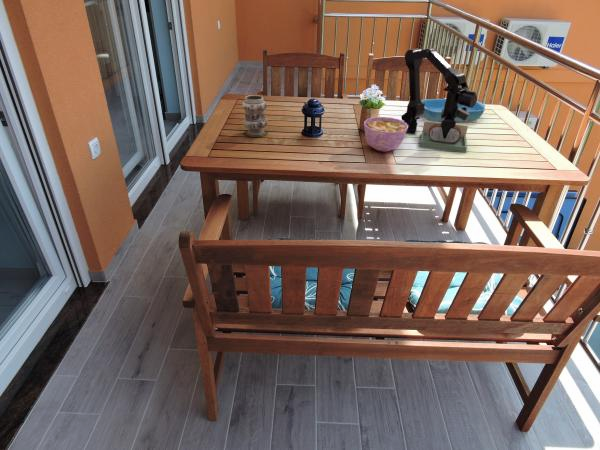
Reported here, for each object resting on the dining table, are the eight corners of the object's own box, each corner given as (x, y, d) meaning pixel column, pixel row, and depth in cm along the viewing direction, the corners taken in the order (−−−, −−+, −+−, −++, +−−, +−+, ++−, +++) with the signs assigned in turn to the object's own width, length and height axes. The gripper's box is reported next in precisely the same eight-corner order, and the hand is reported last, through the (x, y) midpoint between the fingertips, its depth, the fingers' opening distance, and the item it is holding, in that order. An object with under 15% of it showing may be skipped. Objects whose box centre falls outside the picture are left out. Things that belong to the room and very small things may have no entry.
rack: (419, 147, 198) (422, 131, 193) (421, 134, 210) (424, 120, 206) (465, 152, 193) (469, 137, 189) (464, 140, 206) (468, 125, 201)
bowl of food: (369, 136, 207) (372, 114, 200) (409, 144, 199) (413, 121, 193) (355, 151, 192) (357, 127, 186) (397, 160, 185) (401, 135, 178)
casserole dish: (425, 124, 223) (427, 111, 219) (411, 111, 241) (413, 98, 237) (490, 122, 227) (493, 110, 223) (471, 109, 245) (474, 97, 241)
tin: (459, 142, 201) (463, 125, 196) (459, 145, 198) (463, 128, 193) (427, 138, 204) (430, 122, 199) (426, 141, 202) (430, 124, 197)
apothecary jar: (262, 127, 215) (261, 92, 205) (271, 135, 206) (270, 99, 196) (240, 131, 211) (237, 95, 201) (248, 139, 202) (246, 102, 192)
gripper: (471, 110, 181) (462, 144, 190) (469, 98, 196) (461, 129, 205) (444, 107, 184) (437, 141, 192) (444, 95, 199) (438, 127, 207)
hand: (444, 134), depth 199 cm, fingers open, 9 cm apart
